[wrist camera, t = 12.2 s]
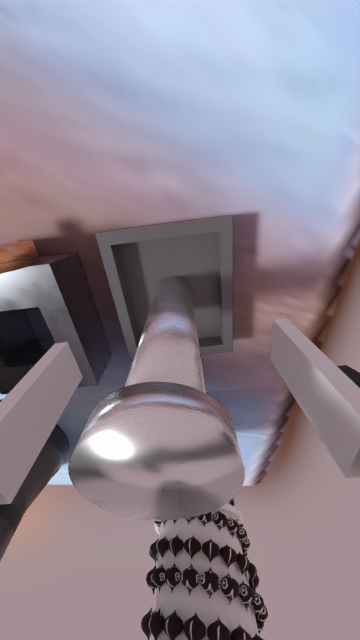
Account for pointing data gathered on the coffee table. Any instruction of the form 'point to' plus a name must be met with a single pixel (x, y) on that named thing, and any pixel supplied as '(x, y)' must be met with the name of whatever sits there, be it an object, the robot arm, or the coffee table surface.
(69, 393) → the robot arm
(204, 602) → the decorative candle
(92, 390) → the coffee table surface
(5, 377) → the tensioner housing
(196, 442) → the lock pin
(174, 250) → the tray
